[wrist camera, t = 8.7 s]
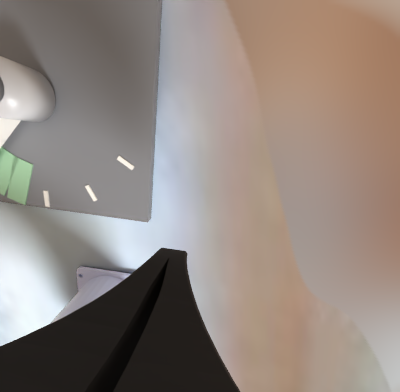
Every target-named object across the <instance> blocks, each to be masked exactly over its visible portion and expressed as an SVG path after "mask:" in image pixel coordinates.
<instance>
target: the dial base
mask: <svg viewBox="0 0 400 392" xmlns="http://www.w3.org/2000/svg"><path fill="white" fill-rule="evenodd" d="M161 12H162V0H0V56H2V57H4V58H7V59H9V60H12V61H14V62H17V63H19V64H22V65H24V66H27V67H29V68H32V69H34V70H36V71H38V72H40V73H41V74H42V75H43V76H44V77H45V78H46V79H47V80H48V81H49V83H50V84H51V86H52V88H53V91H54V94H55V108H54V111H53V113H52V115H51V116H50V117H49V118H48V119H47V120H45V121H42V122H32V121H22V120H21V121H20V123H19V124H18V125H17V127H16V128H15V129H14V131H13V132H12V133H11V135H10V136H9V137H8V139H7V140H6V141H5V143H4V144H3V145H2V147H1V148H0V201H1V202H8V203H15V204H22V205H29V206H36V207H44V208H51V209H58V210H65V211H72V212H79V213H86V214H93V215H100V216H107V217H114V218H121V219H128V220H135V221H142V222H148V221H149V220H150V219H151V207H152V187H153V168H154V148H155V129H156V109H157V90H158V70H159V51H160V31H161Z"/></svg>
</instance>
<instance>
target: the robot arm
mask: <svg viewBox="0 0 400 392" xmlns="http://www.w3.org/2000/svg"><path fill="white" fill-rule="evenodd" d="M76 273H77V286H78V293H77V294H76V295H75V296H74V297H73V298H72V300H71V301H70V302H69V303H68V304H67V305H66V306H65V307H64V309H63V310H62V311H61V312H60V313H59V314H58V315H57V316H56V318H55V319H54V320H53V321H52V322H51V323H50V324H49V325H47V326H45V327H43V328H41V329H38V330H36V331H34V332H32V333H30V334H28V335H26V336H23V337H21V338H19V339H17V340H14V341H12V342H10V343H7V344H5V345H3V346H0V392H240V391H239V389H238V387H237V386H236V384H235V382H234V381H233V379H232V377H231V375H230V374H229V372H228V370H227V368H226V367H225V365H224V363H223V361H222V359H221V358H220V356H219V354H218V352H217V350H216V348H215V346H214V344H213V342H212V340H211V337H210V335H209V333H208V331H207V329H206V327H205V325H204V322H203V320H202V317H201V315H200V312H199V310H198V307H197V304H196V301H195V298H194V295H193V292H192V288H191V284H190V280H189V275H188V270H187V253H186V251H180V250H173V249H167V248H161V249H159V250H158V251H157V252H156V253H155V254H154V255H153V256H152V257H151V258H150V259H149V260H147V261H146V262H145V263H144V264H143V265H142V266H140V267H139V268H138V269H137V270H136V271H135V272H133V273H132V274H130V273H123V272H116V271H109V270H103V269H96V268H89V267H83V266H80V267H79V268H78V269H77V270H76ZM81 274H82V275H81Z"/></svg>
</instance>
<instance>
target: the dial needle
mask: <svg viewBox="0 0 400 392" xmlns="http://www.w3.org/2000/svg"><path fill="white" fill-rule="evenodd" d="M54 108H55V94H54V91H53V88H52V86H51V84H50V83H49V81H48V80H47V79H46V78H45V77H44V76H43V75H42V74H41V73H40V72H38V71H36V70H34V69H32V68H29V67H27V66H24V65H22V64H19V63H17V62H14V61H12V60H9V59H7V58H4V57H2V56H0V148H1V147H2V145H3V144H4V143H5V141H6V140H7V139H8V137H9V136H10V135H11V133H12V132H13V131H14V129H15V128H16V127H17V125H18V124H19V123H20V121H21V120H22V121H32V122H42V121H45V120H47V119H48V118H49V117H50V116H51V115H52V113H53V111H54Z"/></svg>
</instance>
